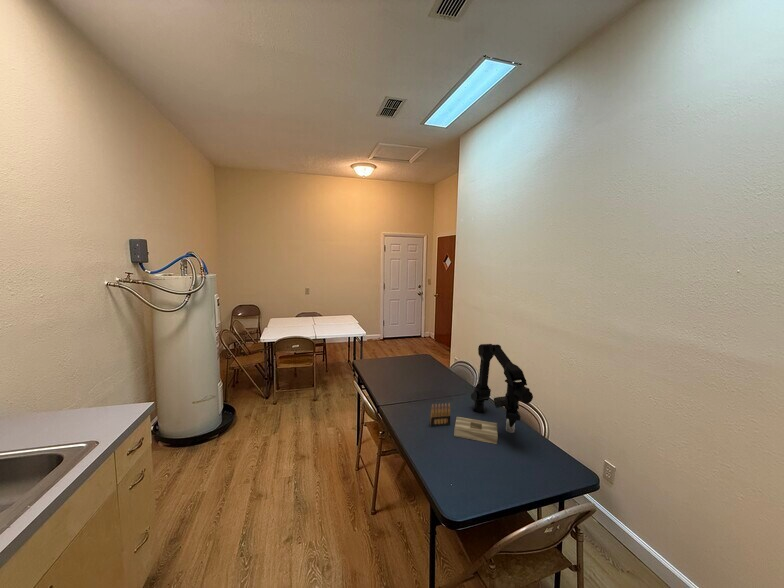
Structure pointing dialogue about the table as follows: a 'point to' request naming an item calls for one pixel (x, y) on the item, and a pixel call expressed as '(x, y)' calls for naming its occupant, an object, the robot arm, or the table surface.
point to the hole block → (476, 430)
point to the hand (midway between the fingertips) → (510, 424)
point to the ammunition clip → (440, 415)
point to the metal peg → (508, 428)
